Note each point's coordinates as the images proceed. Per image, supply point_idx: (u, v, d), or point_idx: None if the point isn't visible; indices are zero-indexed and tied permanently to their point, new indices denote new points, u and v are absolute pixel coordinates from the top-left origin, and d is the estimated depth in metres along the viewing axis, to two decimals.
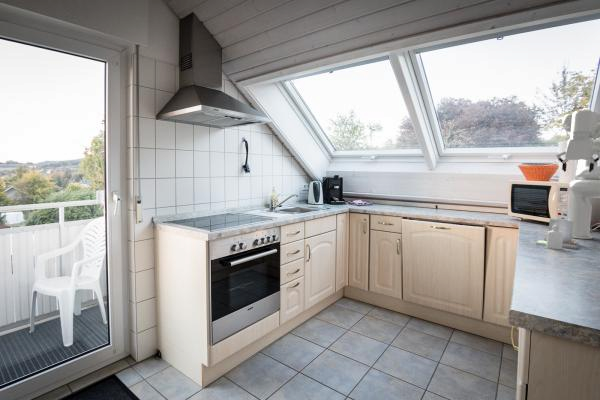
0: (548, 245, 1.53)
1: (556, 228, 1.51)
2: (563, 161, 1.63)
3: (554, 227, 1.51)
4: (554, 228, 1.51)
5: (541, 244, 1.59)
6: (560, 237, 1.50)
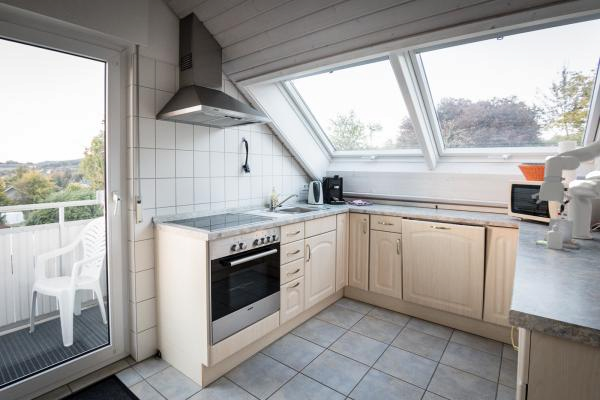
0: (548, 245, 1.53)
1: (556, 228, 1.51)
2: (537, 201, 1.77)
3: (554, 227, 1.51)
4: (554, 228, 1.51)
5: (541, 244, 1.59)
6: (560, 237, 1.50)
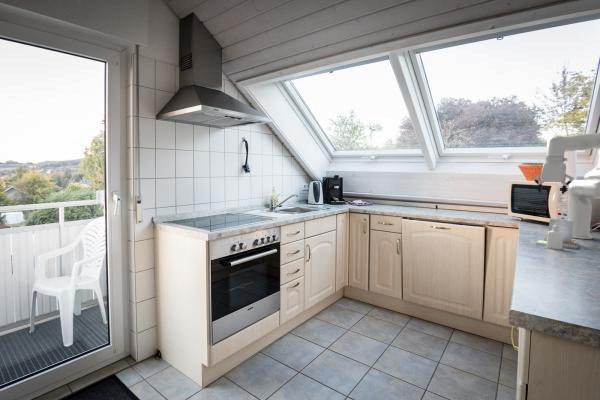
0: (548, 245, 1.53)
1: (556, 228, 1.51)
2: (539, 183, 1.75)
3: (554, 227, 1.51)
4: (554, 228, 1.51)
5: (541, 244, 1.59)
6: (560, 237, 1.50)
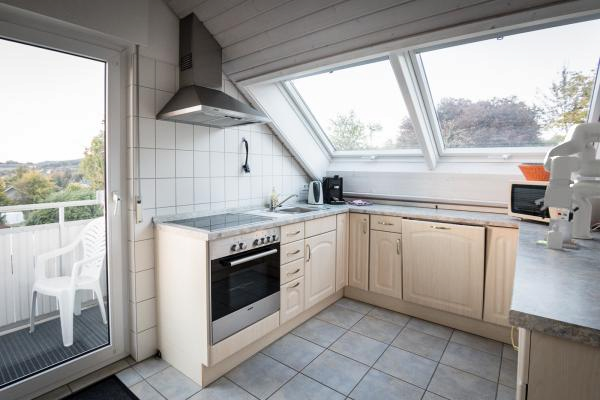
0: (548, 245, 1.53)
1: (556, 228, 1.51)
2: (542, 208, 1.54)
3: (554, 227, 1.51)
4: (554, 228, 1.51)
5: (541, 244, 1.59)
6: (560, 237, 1.50)
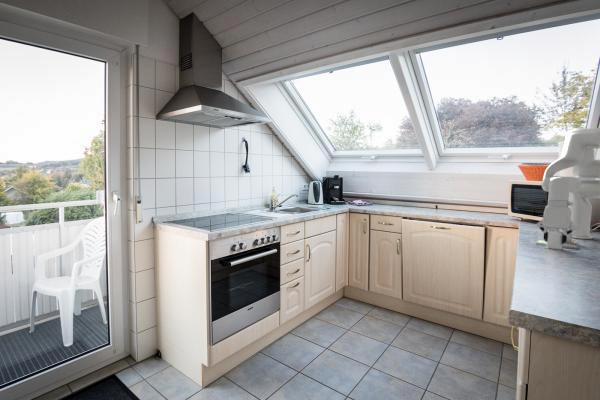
0: (548, 245, 1.53)
1: (556, 228, 1.51)
2: (544, 230, 1.54)
3: None
4: (554, 228, 1.51)
5: (541, 244, 1.59)
6: (560, 237, 1.50)
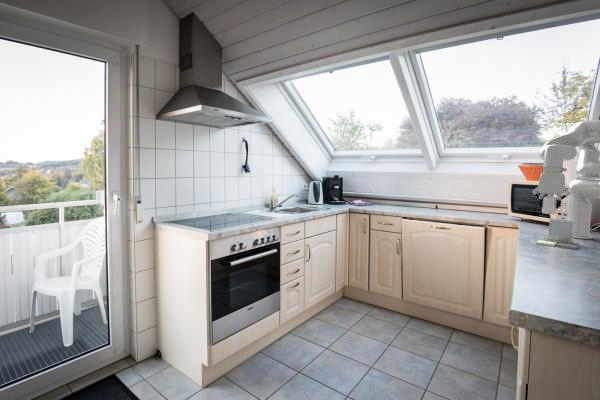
0: (543, 210, 1.60)
1: (551, 194, 1.58)
2: (539, 197, 1.61)
3: None
4: (549, 194, 1.58)
5: (541, 244, 1.59)
6: (555, 202, 1.57)
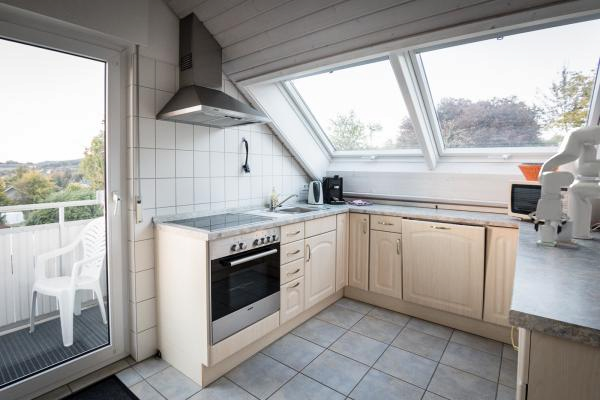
0: (541, 239, 1.61)
1: (548, 222, 1.60)
2: (535, 221, 1.63)
3: (546, 221, 1.60)
4: (546, 222, 1.60)
5: (541, 244, 1.59)
6: (552, 231, 1.59)
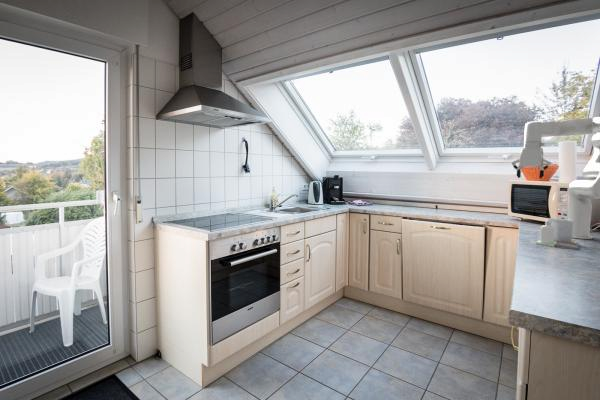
0: (541, 239, 1.61)
1: (548, 223, 1.59)
2: (517, 168, 1.77)
3: (547, 222, 1.60)
4: (547, 223, 1.60)
5: (541, 244, 1.59)
6: (552, 231, 1.58)
